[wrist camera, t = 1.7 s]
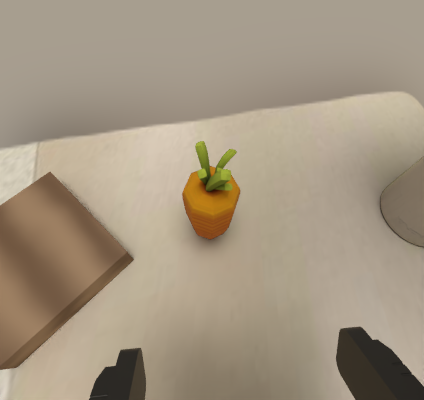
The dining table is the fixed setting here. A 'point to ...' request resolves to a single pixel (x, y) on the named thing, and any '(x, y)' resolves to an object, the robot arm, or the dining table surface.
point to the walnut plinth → (48, 265)
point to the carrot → (211, 195)
